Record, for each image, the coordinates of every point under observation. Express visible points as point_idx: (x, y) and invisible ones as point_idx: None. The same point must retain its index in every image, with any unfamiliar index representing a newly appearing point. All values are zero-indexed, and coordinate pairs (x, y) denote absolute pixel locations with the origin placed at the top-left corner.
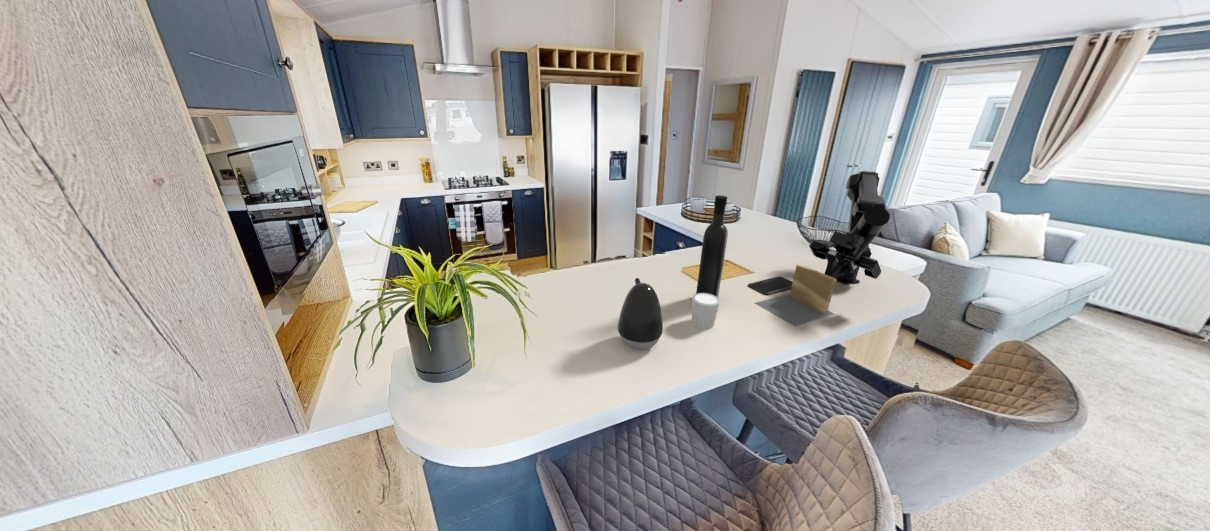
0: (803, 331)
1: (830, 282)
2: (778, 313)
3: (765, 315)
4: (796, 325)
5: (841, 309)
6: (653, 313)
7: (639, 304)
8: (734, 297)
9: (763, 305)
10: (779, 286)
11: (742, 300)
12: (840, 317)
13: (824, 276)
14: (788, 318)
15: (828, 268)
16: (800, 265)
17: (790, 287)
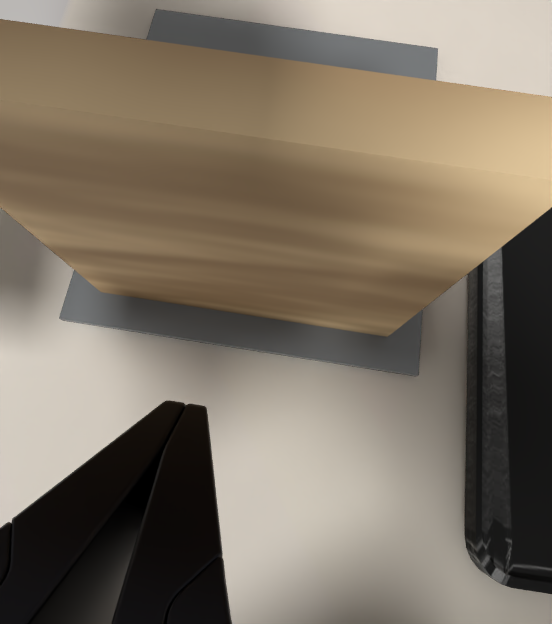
0: (110, 14)
1: None
2: (283, 51)
3: (315, 3)
4: (155, 19)
5: (52, 456)
6: None
7: None
8: (546, 34)
9: (390, 63)
10: (544, 386)
11: (497, 40)
12: (18, 320)
13: (32, 25)
14: (218, 45)
15: (170, 564)
16: (533, 134)
17: (490, 451)
